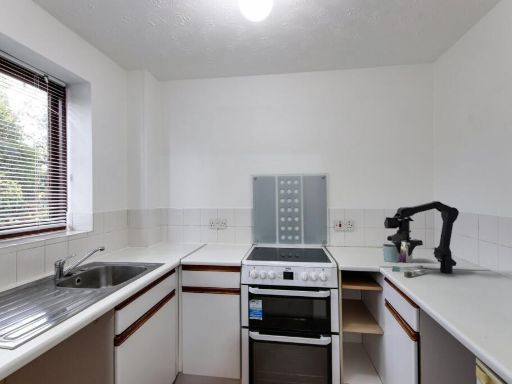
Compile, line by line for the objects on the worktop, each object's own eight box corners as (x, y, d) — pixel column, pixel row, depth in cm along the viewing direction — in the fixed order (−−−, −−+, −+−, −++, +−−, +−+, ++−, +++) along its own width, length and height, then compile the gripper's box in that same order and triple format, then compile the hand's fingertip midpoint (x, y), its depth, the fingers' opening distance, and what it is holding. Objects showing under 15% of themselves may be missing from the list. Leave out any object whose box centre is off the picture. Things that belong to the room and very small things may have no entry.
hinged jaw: (417, 271, 147) (417, 267, 147) (418, 272, 145) (418, 268, 145) (391, 270, 150) (391, 266, 149) (392, 271, 148) (392, 267, 148)
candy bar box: (396, 259, 178) (396, 236, 178) (403, 259, 178) (403, 236, 178) (405, 264, 167) (405, 239, 167) (412, 264, 167) (412, 239, 167)
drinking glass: (402, 264, 167) (402, 246, 167) (391, 265, 164) (391, 247, 164) (389, 260, 177) (389, 243, 177) (379, 261, 173) (378, 244, 173)
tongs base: (405, 269, 157) (405, 260, 157) (435, 278, 140) (435, 268, 140) (385, 273, 149) (384, 264, 149) (414, 283, 133) (414, 273, 133)
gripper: (380, 227, 154) (381, 252, 154) (410, 232, 137) (410, 260, 137) (393, 226, 158) (393, 250, 158) (423, 230, 141) (423, 258, 141)
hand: (404, 254), depth 149 cm, fingers open, 6 cm apart
